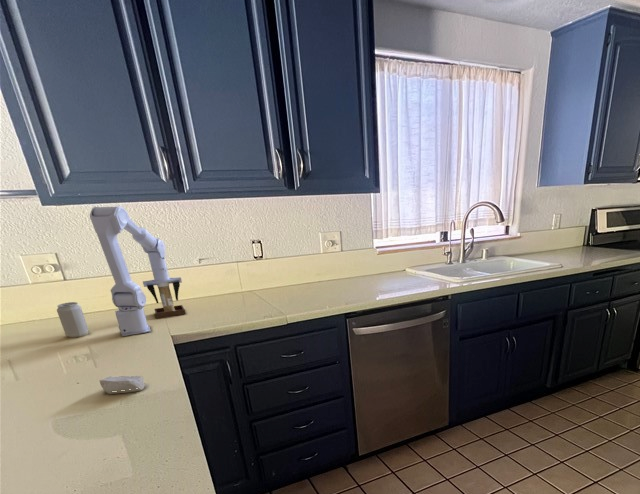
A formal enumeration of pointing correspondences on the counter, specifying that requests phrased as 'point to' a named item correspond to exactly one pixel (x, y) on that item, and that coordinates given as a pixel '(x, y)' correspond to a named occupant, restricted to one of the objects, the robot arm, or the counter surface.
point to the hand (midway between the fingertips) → (167, 301)
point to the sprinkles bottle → (166, 296)
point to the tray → (170, 312)
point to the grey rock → (122, 384)
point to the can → (72, 319)
